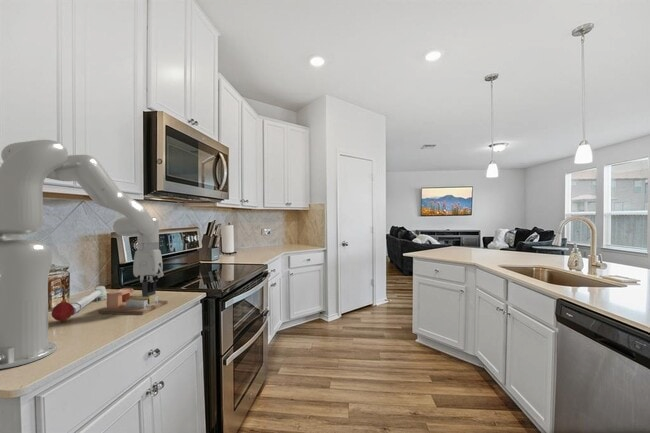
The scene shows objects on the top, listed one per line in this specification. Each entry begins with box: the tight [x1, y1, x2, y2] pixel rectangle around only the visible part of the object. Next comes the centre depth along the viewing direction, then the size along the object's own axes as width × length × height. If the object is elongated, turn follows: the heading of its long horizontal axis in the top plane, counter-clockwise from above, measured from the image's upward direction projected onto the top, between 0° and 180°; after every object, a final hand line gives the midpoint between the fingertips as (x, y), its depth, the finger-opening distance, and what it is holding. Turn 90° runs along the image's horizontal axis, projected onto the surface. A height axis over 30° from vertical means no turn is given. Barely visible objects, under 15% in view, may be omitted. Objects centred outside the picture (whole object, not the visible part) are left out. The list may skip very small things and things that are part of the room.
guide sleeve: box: [126, 295, 159, 309], centre depth 113 cm, size 8×8×3 cm
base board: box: [98, 299, 168, 315], centre depth 114 cm, size 14×19×1 cm
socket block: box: [106, 287, 135, 308], centre depth 114 cm, size 8×5×6 cm, turn 173°
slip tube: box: [130, 279, 157, 304], centre depth 113 cm, size 4×9×9 cm, turn 83°
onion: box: [51, 299, 74, 323], centre depth 99 cm, size 6×6×8 cm
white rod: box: [70, 285, 109, 316], centre depth 118 cm, size 5×7×25 cm
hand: (148, 291), depth 113 cm, fingers closed on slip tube, 2 cm apart
